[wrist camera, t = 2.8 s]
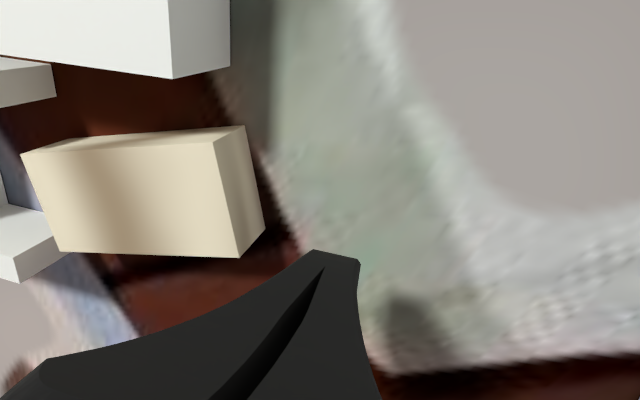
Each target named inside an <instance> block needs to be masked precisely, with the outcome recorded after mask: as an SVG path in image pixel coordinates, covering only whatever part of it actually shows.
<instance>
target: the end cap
mask: <svg viewBox="0 0 640 400" xmlns="http://www.w3.org/2000/svg"><path fill="white" fill-rule="evenodd" d="M52 97H57V95H56V90H55V85H54V79H53V74H52V68H51V64H44V63H38V62H31V61H24V60H17V59H10V58H3V57H0V108H3V107H8V106H13V105H18V104H23V103H27V102H32V101H37V100H42V99H47V98H52ZM69 253H71V252H61V251H59V248H58V246H57V243H56V241H55V239H54V236H53V234H52V231H51V229H50V226H49V224H48V222H47V219H46V217H45V214H44V212H40V211H36V210H32V209H28V208H24V207H19V206H15V205H11V204H8V200H7V197H6V193H5V189H4V185H3V181H2V177H1V173H0V278H2V279H6V280H9V281H12V282H16V283H19V284H20V283H22V282H24V281H25V280H27V279H28V278H30V277H32V276H33V275H35V274H37V273H38V272H40V271H41V270H43V269H45V268H46V267H48V266H49V265H51V264H53V263H54V262H56V261H58V260H59V259H61V258H62V257H64V256H66V255H67V254H69Z"/></svg>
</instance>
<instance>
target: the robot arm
mask: <svg viewBox="0 0 640 400" xmlns="http://www.w3.org/2000/svg"><path fill="white" fill-rule="evenodd" d="M360 266H361V264H360V262H359V261H358V259H354V258H350V257H345V256H341V255H337V254H332V253H328V252H323V251H319V250H314V249H313V250H311V251H310V252H308V253H307V254H305V255H304V256H302V257H301V258H299V259H298V260H297V261H295V262H294V263H292V264H291V265H290V266H288V267H287V268H285V269H284V270H282V271H281V272H279V273H278V274H276V275H275V276H273V277H272V278H270V279H269V280H267V281H266V282H264V283H263V284H261V285H259V286H258V287H256V288H254V289H253V290H251V291H249V292H248V293H246V294H244V295H242V296H241V297H239V298H237V299H235V300H233V301H231V302H230V303H228V304H226V305H223V306H221V307H219V308H217V309H215V310H213V311H211V312H208V313H206V314H204V315H202V316H199V317H197V318H194V319H192V320H189V321H186V322H184V323H181V324H178V325H175V326H173V327H170V328H167V329H165V330H162V331H159V332H156V333H153V334H149V335H146V336H143V337H140V338H136V339H133V340H129V341H125V342H122V343H118V344H114V345H110V346H106V347H102V348H97V349H93V350H88V351H83V352H78V353H74V354H69V355H64V356H59V357H54V358H48V359H46V360H45V361H44V362H42V363H41V364H40V365H39V366H37V367H36V368H35V369H34V370H33V371H32V372H30V373H29V374H28V375H27V376H26V377H24V378H23V379H22V380H21V381H20V382H19V383H17V384H16V385H15V386H14V387H13V388H11V389H10V390H9V391H8V392H7V393H6V394H4V395H3V396H2V397H1V398H0V400H382V398H381V396H380V393H379V391H378V388H377V385H376V383H375V380H374V377H373V373H372V370H371V367H370V364H369V360H368V357H367V353H366V349H365V345H364V341H363V336H362V331H361V326H360V320H359V313H358V303H357V286H358V279H359V272H360ZM639 400H640V398H639Z"/></svg>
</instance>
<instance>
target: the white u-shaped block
mask: <svg viewBox="0 0 640 400" xmlns="http://www.w3.org/2000/svg"><path fill="white" fill-rule="evenodd" d="M0 54H2V55H9V56H16V57H23V58H30V59H37V60H44V61H51V62H57V63H64V64H71V65H78V66H85V67H92V68H99V69H106V70H113V71H120V72H127V73H134V74H140V75H147V76H154V77H161V78H168V79H176V78H180V77H185V76H189V75H193V74H198V73H202V72H207V71H211V70H215V69H220V68H224V67H229V66H230V0H0Z"/></svg>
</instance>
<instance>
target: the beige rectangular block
mask: <svg viewBox="0 0 640 400" xmlns="http://www.w3.org/2000/svg"><path fill="white" fill-rule="evenodd" d="M20 156H21V158H22V161H23V163H24V165H25V168H26V170H27V173H28V175H29V178H30V180H31V183H32V185H33V187H34V190H35V192H36V195H37V197H38V200H39V202H40V204H41V207H42V209H43V212H44V214H45V217H46V219H47V222H48V224H49V226H50V229H51V231H52V234H53V236H54V239H55V241H56V243H57V246H58V248H59V251H61V252H89V253H116V254H144V255H171V256H199V257H226V258H240V257H241V256H242V254H243V253H244V252H245V251H246V250H247V249H248V248H249V247H250V245H251V244H252V243H253V242H254V241H255V240H256V239H257V238H258V237H259V235H260V234H261V233H262V232H263V231H264V230H265V224H264V219H263V214H262V209H261V204H260V199H259V194H258V189H257V184H256V179H255V174H254V169H253V164H252V159H251V154H250V149H249V144H248V139H247V134H246V129H245V125H240V126H227V127H214V128H201V129H188V130H175V131H162V132H149V133H136V134H123V135H110V136H96V137H83V138H70V139H66V140H63V141H60V142H57V143H53V144H50V145H47V146H44V147H41V148H38V149H35V150H32V151H29V152H26V153H22V154H20Z"/></svg>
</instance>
